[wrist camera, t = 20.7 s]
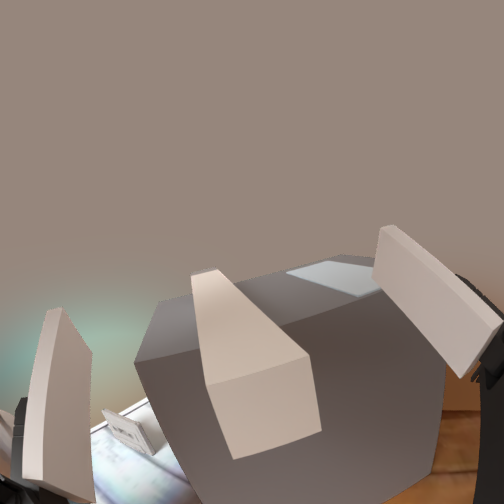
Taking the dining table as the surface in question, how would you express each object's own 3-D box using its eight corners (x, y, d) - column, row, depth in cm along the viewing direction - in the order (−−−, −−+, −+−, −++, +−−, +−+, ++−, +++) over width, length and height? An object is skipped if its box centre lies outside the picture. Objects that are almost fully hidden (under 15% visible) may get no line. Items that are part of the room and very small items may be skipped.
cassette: (158, 452, 44) (142, 421, 43) (151, 457, 42) (134, 426, 41) (120, 435, 49) (105, 406, 49) (114, 439, 48) (99, 410, 47)
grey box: (430, 473, 25) (444, 263, 23) (239, 555, 20) (133, 360, 18) (360, 412, 45) (341, 253, 42) (216, 462, 40) (158, 300, 37)
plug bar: (321, 430, 8) (309, 355, 8) (233, 459, 8) (205, 385, 7) (221, 291, 36) (215, 266, 35) (196, 297, 35) (190, 272, 35)
